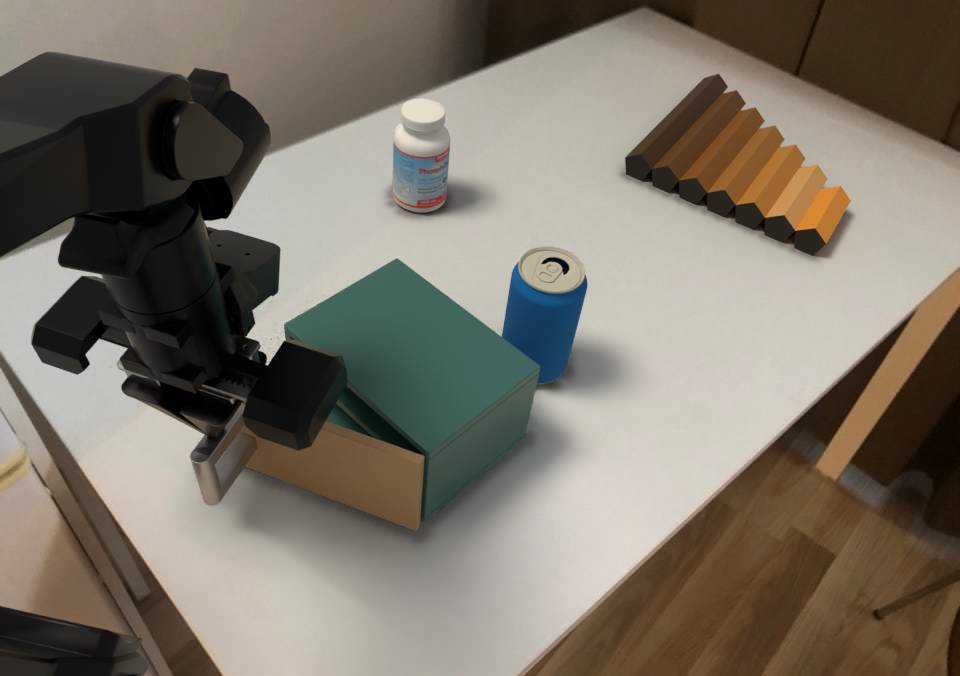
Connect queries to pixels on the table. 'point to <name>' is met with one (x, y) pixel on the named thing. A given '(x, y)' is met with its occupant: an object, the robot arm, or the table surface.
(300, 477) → the wooden cabinet door
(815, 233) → the pan flute
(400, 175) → the pill bottle
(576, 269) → the beverage can
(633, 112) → the table surface
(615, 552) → the table surface
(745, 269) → the table surface
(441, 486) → the green cabinet
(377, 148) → the table surface
